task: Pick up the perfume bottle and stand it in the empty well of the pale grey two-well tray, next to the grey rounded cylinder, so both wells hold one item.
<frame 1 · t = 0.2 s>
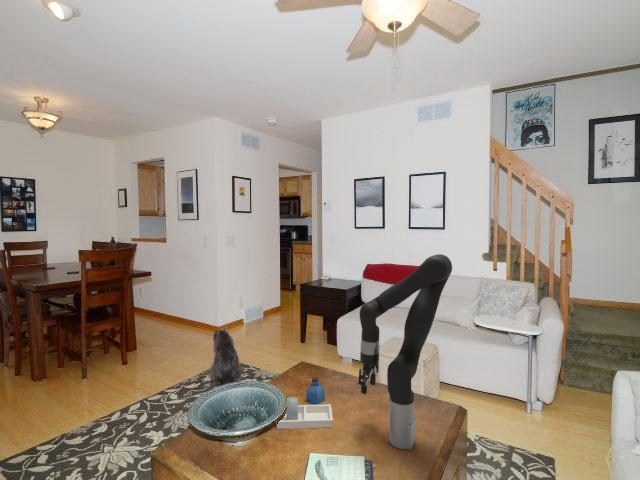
hand: (368, 388, 139), 17 cm above the table, tool pointing down, fingers open, 8 cm apart
tray: (305, 421, 146), on the table
perfume bottle: (315, 403, 161), on the table
grey rounded cylinder: (292, 419, 146), point 1 cm above the table, touching tray
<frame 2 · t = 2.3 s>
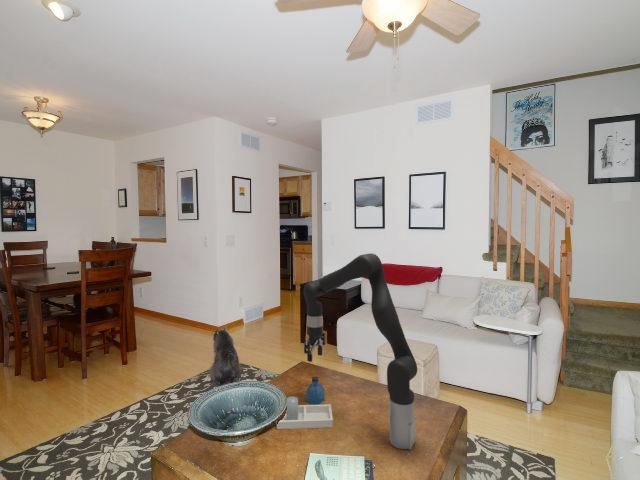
hand: (315, 358, 160), 22 cm above the table, tool pointing down, fingers open, 8 cm apart
nothing on the table moved.
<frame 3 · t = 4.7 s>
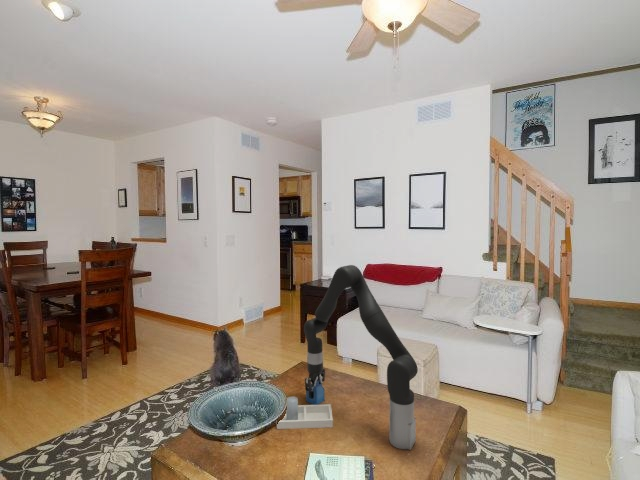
hand: (315, 394, 161), 4 cm above the table, tool pointing down, fingers closed on perfume bottle, 6 cm apart
perfume bottle: (315, 403, 161), on the table, touching gripper
everything else where it was.
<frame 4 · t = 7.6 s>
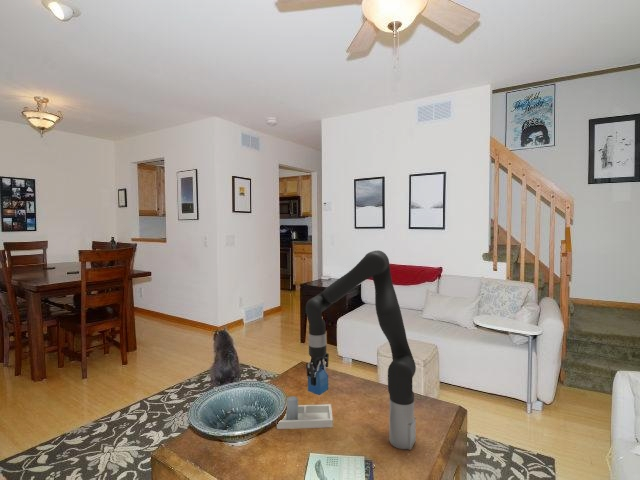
hand: (318, 381, 146), 17 cm above the table, tool pointing down, fingers closed on perfume bottle, 6 cm apart
perfume bottle: (318, 390, 146), point 13 cm above the table, touching gripper
everything else where it was.
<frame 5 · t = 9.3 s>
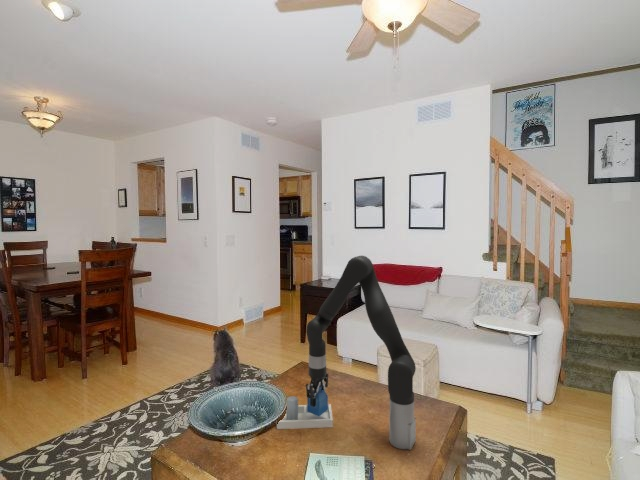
hand: (317, 402, 146), 8 cm above the table, tool pointing down, fingers closed on perfume bottle, 6 cm apart
perfume bottle: (317, 411, 146), point 5 cm above the table, touching gripper
everything else where it was.
when the fingers open (6 cm above the table, at t = 10.8 s): perfume bottle drops 1 cm, resting on tray.
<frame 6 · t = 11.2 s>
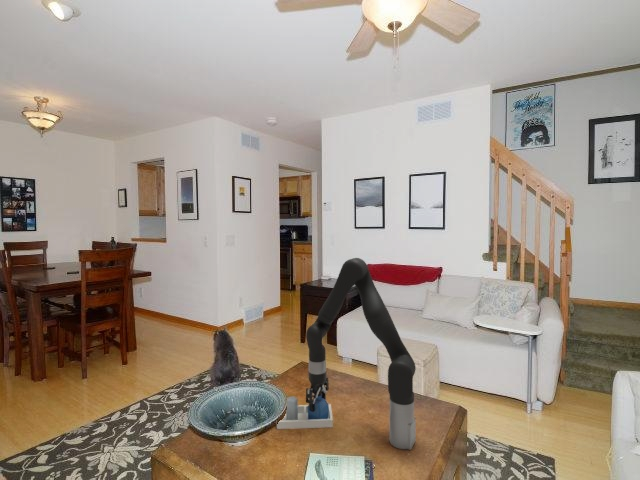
hand: (317, 406, 146), 7 cm above the table, tool pointing down, fingers open, 8 cm apart
perfume bottle: (318, 419, 146), point 1 cm above the table, touching tray
everything else where it was.
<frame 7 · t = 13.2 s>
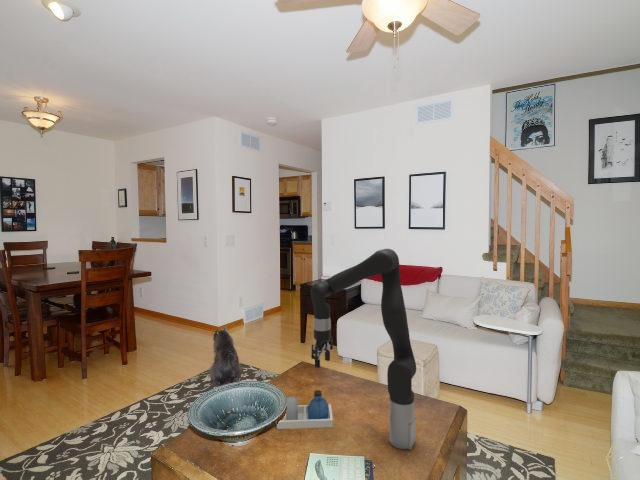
hand: (322, 363, 149), 23 cm above the table, tool pointing down, fingers open, 8 cm apart
nothing on the table moved.
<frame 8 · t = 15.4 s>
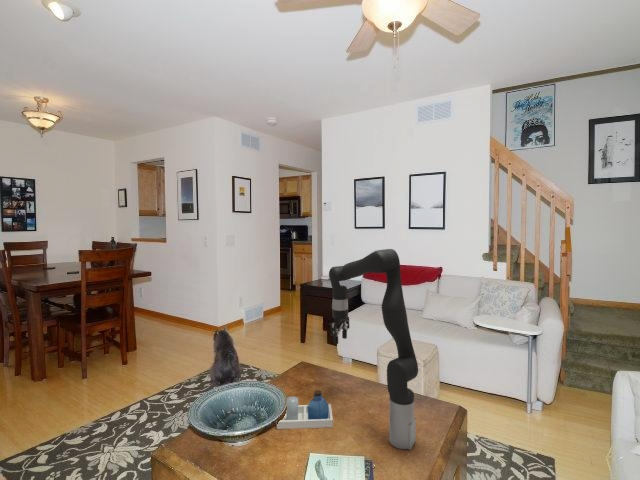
hand: (340, 341, 164), 28 cm above the table, tool pointing down, fingers open, 8 cm apart
nothing on the table moved.
at the end: perfume bottle 0.2 cm from the target spot on the tray, point 0.8 cm above the tray's base; perfume bottle tilted 0°; the gripper is holding nothing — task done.
